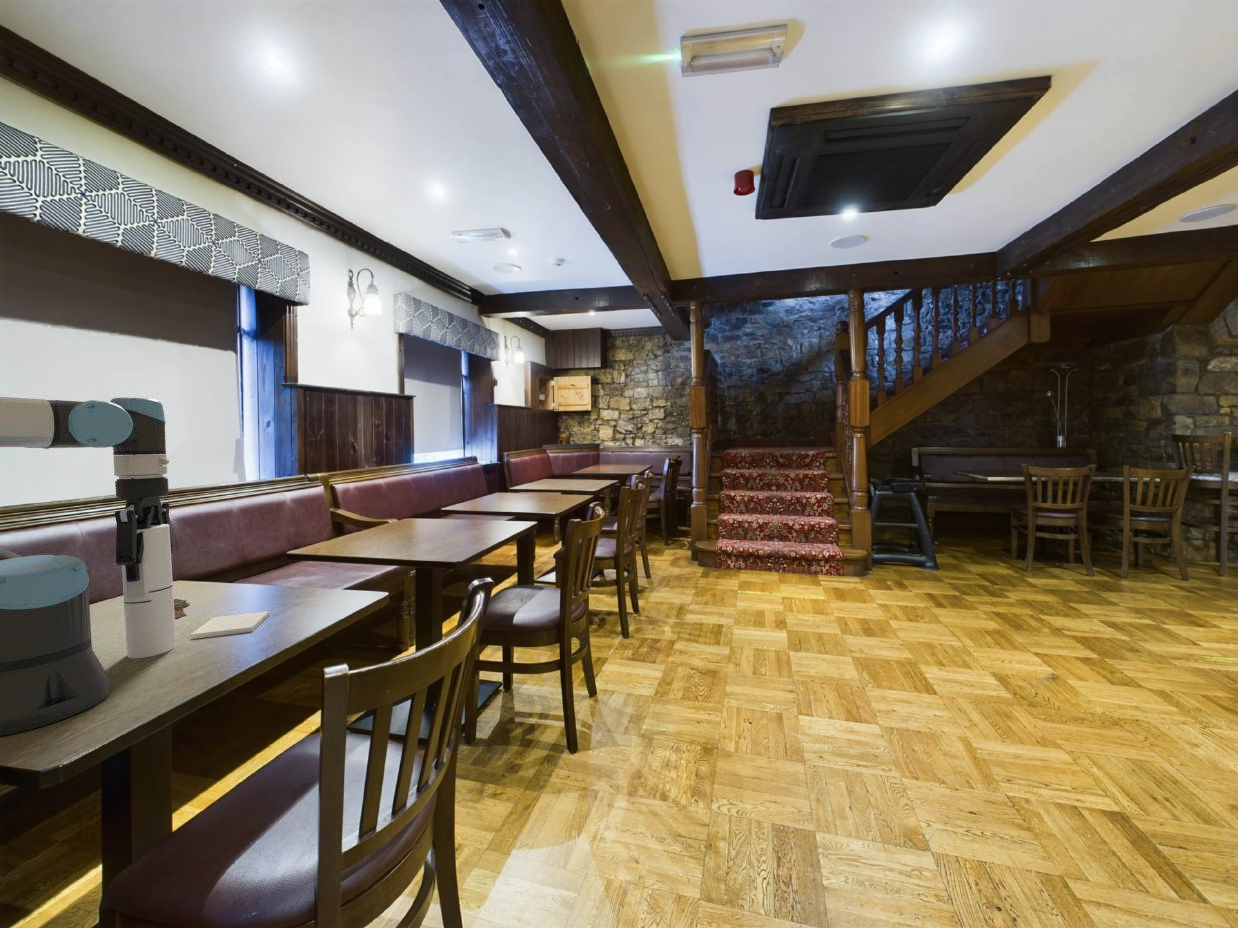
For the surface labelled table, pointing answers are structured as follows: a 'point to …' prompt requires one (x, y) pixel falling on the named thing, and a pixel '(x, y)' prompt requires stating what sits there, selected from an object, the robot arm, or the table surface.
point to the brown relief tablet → (179, 608)
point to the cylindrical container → (152, 599)
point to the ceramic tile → (230, 625)
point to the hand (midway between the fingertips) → (148, 591)
